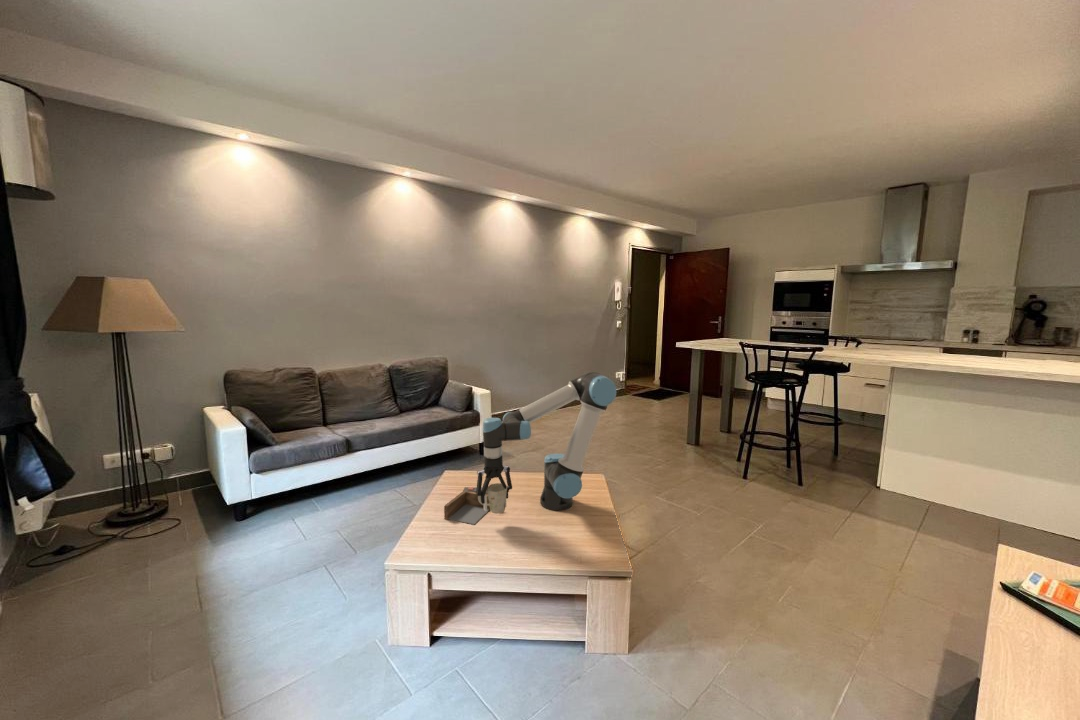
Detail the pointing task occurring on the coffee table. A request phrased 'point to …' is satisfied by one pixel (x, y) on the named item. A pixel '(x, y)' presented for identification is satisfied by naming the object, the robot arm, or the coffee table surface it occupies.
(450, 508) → the brown corner wall
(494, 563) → the coffee table surface
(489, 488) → the mug
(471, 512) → the mat
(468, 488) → the remote
